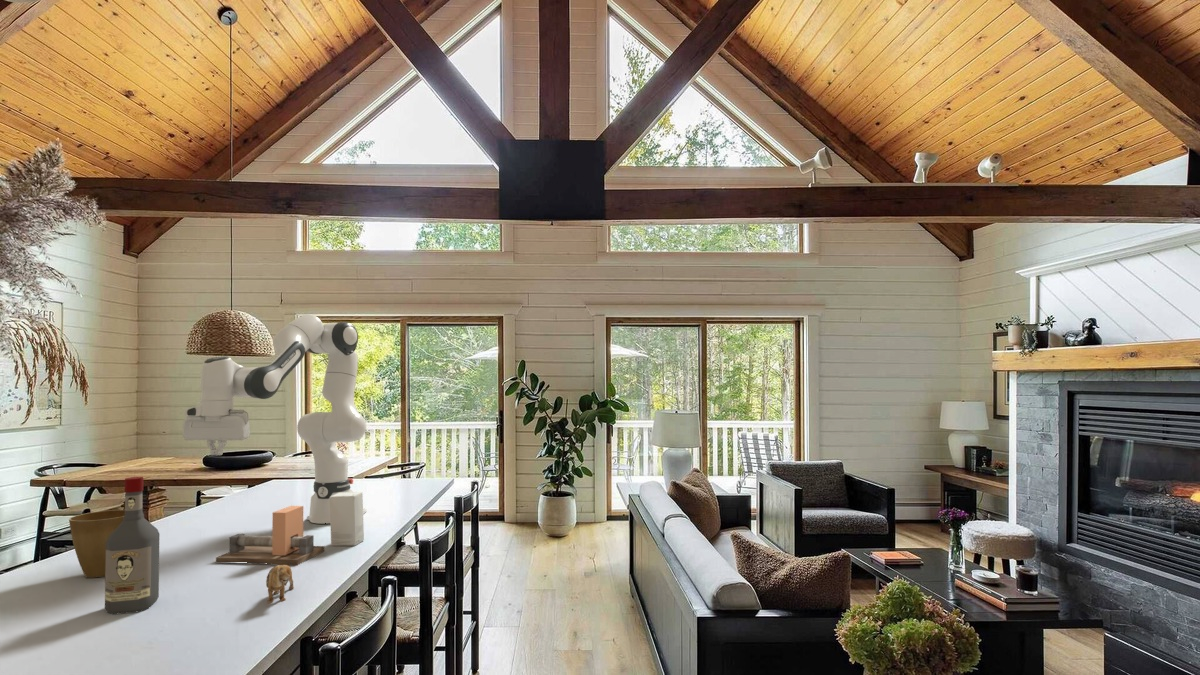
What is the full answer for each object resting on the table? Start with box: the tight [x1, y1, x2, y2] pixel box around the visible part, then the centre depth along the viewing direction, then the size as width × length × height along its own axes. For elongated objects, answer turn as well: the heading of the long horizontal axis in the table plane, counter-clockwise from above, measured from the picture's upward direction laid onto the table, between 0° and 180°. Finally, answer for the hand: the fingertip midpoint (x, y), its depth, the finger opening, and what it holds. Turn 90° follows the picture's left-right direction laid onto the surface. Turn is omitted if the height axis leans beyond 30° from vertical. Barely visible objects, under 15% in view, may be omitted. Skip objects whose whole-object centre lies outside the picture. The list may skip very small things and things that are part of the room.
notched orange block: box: [271, 505, 304, 555], centre depth 196 cm, size 9×4×12 cm, turn 173°
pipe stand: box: [215, 533, 325, 566], centre depth 196 cm, size 14×25×6 cm, turn 83°
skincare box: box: [329, 491, 365, 547], centre depth 210 cm, size 8×7×16 cm
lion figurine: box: [265, 565, 295, 604], centre depth 163 cm, size 15×5×9 cm, turn 20°
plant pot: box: [68, 509, 125, 579], centre depth 182 cm, size 15×15×16 cm
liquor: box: [104, 476, 160, 615], centre depth 157 cm, size 9×9×30 cm
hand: (216, 455), depth 204 cm, fingers closed
